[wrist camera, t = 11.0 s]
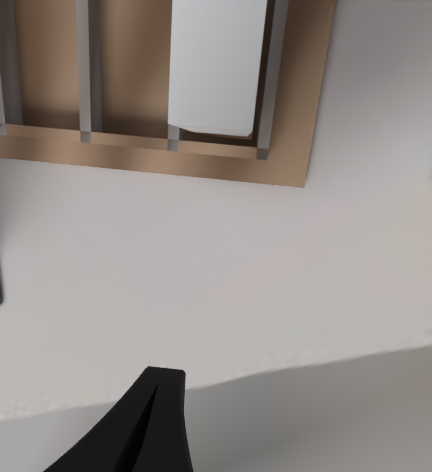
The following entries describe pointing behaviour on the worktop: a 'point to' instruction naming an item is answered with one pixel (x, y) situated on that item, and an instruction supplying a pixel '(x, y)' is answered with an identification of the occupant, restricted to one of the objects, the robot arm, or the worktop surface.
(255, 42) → the blanking panel
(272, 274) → the worktop surface
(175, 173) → the slot rack
